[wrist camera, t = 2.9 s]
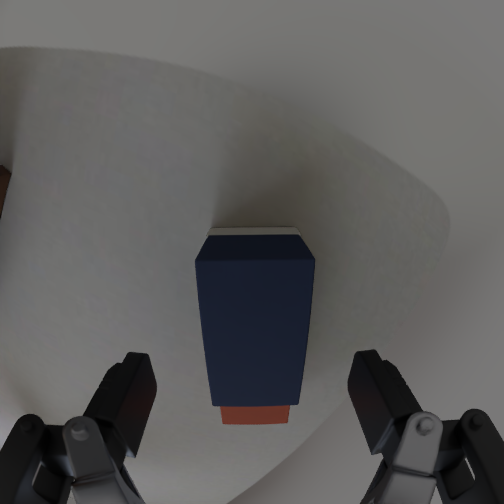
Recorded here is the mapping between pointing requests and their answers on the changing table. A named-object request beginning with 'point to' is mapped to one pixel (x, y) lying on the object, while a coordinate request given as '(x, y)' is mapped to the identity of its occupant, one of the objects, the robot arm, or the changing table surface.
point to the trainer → (255, 319)
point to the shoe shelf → (3, 185)
